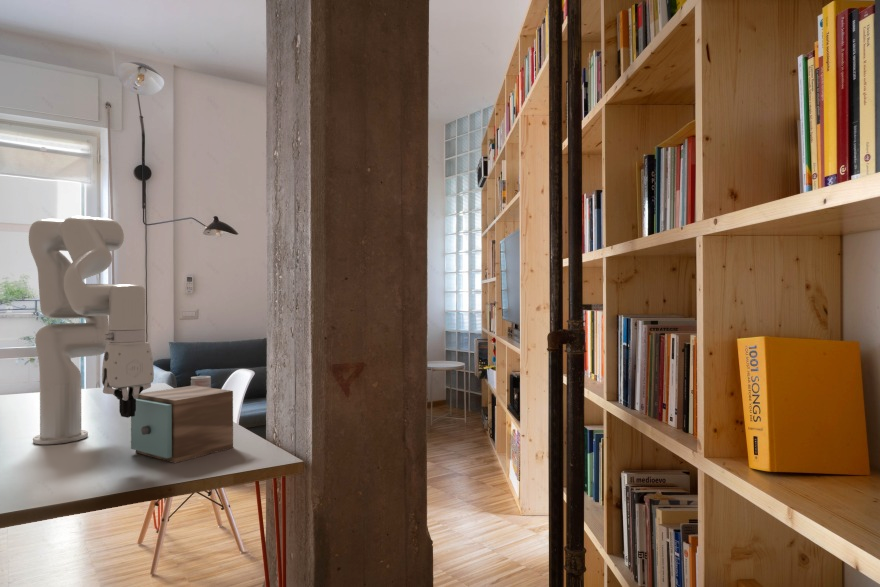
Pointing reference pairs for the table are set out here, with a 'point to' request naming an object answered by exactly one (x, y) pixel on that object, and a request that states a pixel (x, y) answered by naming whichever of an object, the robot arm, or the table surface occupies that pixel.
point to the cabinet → (196, 420)
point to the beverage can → (201, 381)
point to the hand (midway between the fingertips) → (127, 416)
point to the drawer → (152, 428)
